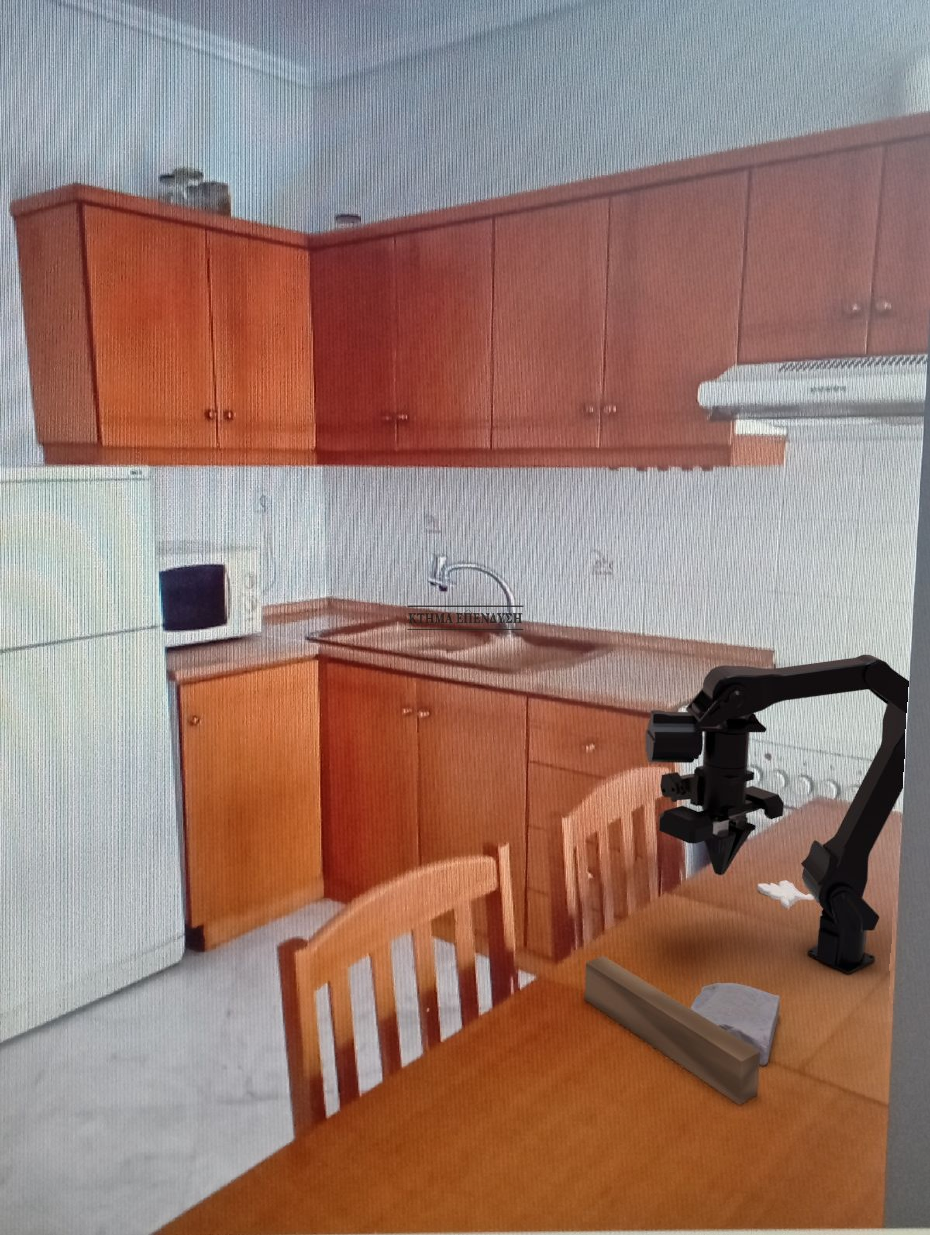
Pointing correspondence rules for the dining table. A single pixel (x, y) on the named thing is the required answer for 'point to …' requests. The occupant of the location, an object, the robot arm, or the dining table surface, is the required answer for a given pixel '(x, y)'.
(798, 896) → the acanthus leaf ornament
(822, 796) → the dining table surface
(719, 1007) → the stone block
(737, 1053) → the board
